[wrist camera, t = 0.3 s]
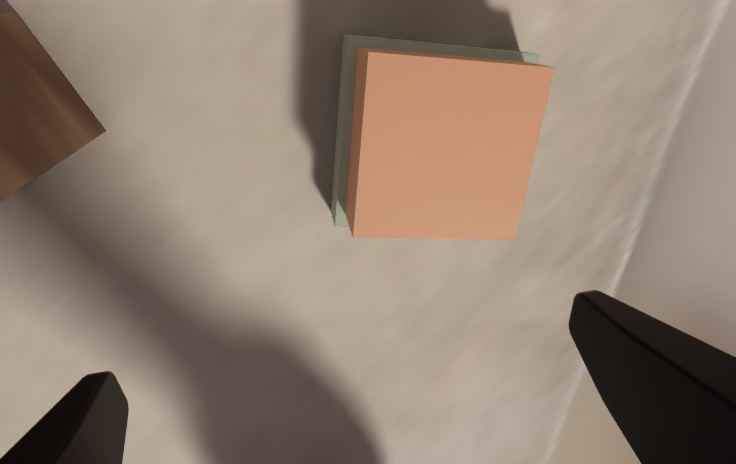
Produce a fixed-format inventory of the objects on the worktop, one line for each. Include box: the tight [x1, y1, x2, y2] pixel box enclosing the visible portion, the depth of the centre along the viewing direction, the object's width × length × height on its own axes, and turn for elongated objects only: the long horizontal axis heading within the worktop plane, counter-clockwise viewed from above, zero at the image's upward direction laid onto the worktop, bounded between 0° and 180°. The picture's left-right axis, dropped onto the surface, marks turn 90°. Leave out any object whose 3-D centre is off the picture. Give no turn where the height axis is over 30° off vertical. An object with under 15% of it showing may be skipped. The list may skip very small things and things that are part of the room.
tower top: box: [345, 47, 555, 239], centre depth 20 cm, size 7×7×2 cm
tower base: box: [331, 34, 540, 227], centre depth 22 cm, size 8×8×2 cm
